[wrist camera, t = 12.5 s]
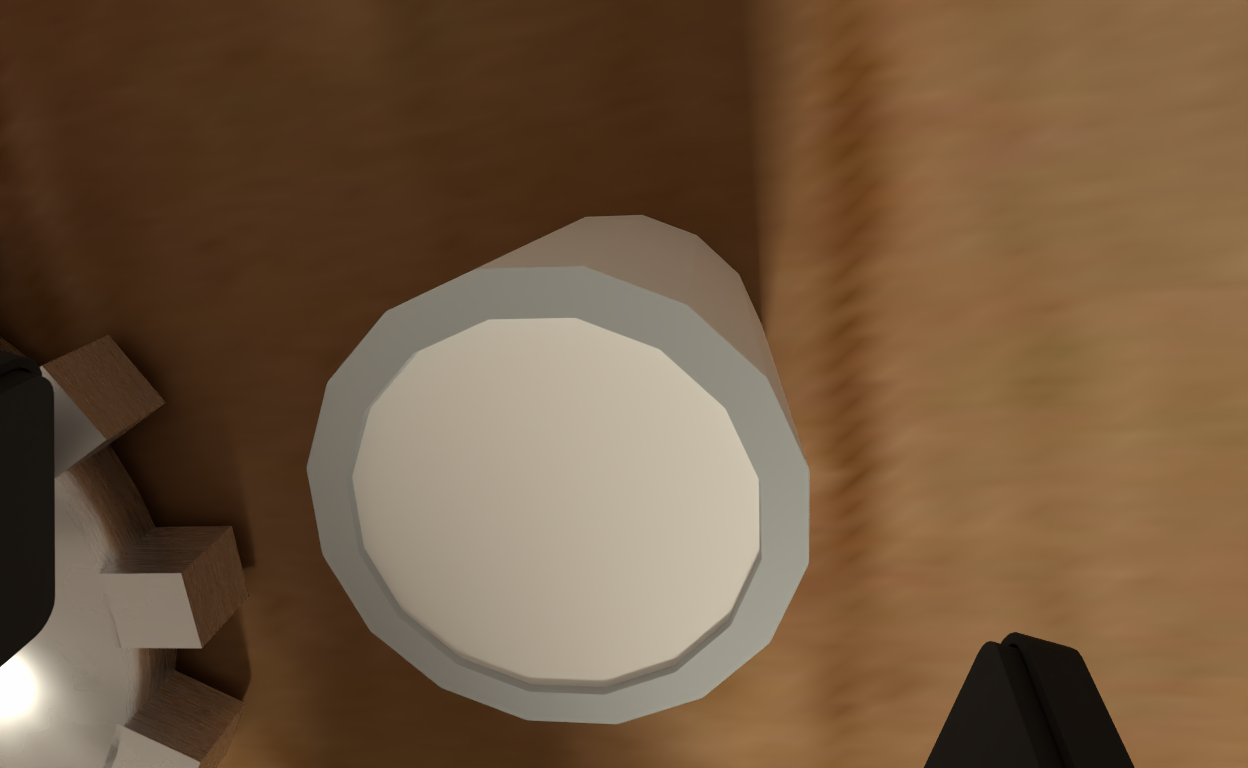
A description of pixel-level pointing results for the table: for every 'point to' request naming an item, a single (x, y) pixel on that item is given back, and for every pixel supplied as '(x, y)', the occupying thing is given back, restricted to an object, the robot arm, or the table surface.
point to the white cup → (568, 476)
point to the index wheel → (118, 600)
